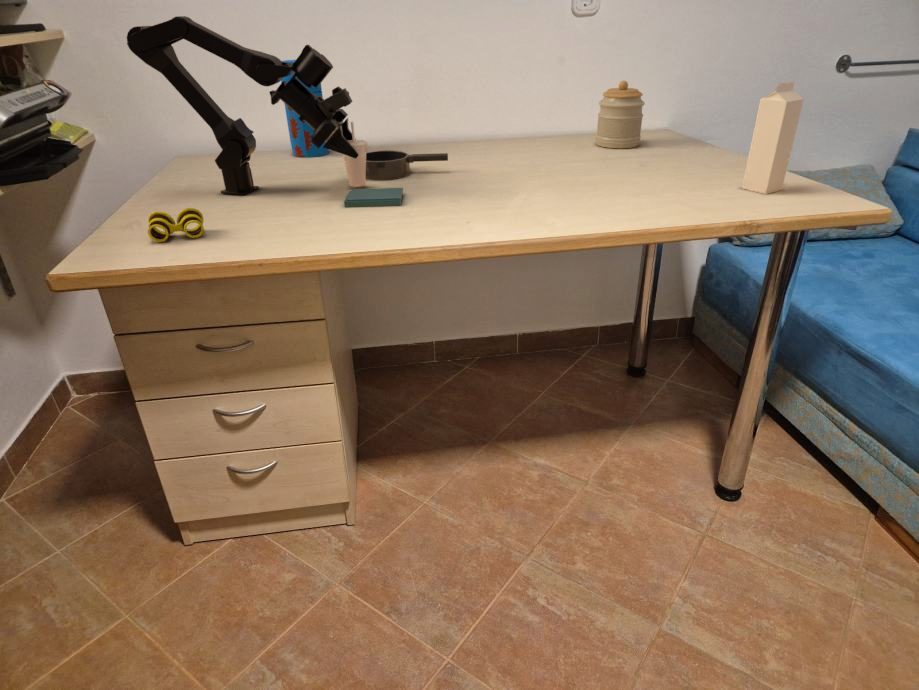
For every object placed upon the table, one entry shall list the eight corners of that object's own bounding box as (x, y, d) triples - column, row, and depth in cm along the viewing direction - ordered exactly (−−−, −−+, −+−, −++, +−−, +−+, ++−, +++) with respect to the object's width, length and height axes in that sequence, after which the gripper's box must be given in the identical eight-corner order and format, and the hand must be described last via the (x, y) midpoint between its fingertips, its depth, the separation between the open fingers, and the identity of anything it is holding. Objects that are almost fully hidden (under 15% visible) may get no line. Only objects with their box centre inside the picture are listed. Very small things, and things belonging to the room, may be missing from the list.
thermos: (314, 148, 185) (301, 58, 173) (336, 152, 179) (325, 59, 167) (285, 154, 178) (270, 61, 166) (307, 158, 172) (293, 63, 160)
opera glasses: (151, 247, 112) (143, 223, 108) (152, 233, 115) (145, 210, 112) (206, 240, 114) (200, 217, 111) (206, 227, 118) (200, 204, 115)
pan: (355, 180, 149) (353, 162, 146) (361, 168, 160) (360, 151, 158) (408, 179, 149) (407, 160, 147) (411, 167, 160) (410, 149, 158)
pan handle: (407, 162, 152) (406, 155, 151) (407, 161, 154) (407, 153, 153) (447, 161, 152) (447, 154, 151) (447, 160, 154) (447, 152, 153)
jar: (613, 138, 188) (619, 77, 179) (648, 144, 179) (656, 80, 170) (586, 144, 181) (591, 81, 172) (621, 151, 172) (628, 84, 163)
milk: (781, 190, 133) (809, 82, 122) (765, 194, 131) (791, 85, 120) (757, 184, 138) (781, 80, 127) (740, 188, 135) (763, 82, 124)
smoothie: (373, 181, 145) (368, 120, 138) (367, 188, 139) (361, 124, 132) (347, 181, 145) (341, 120, 138) (340, 188, 140) (333, 124, 133)
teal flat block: (344, 207, 129) (343, 200, 128) (350, 195, 137) (349, 189, 136) (400, 205, 129) (400, 198, 128) (403, 194, 137) (402, 187, 136)
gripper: (319, 79, 122) (377, 135, 128) (334, 71, 139) (385, 120, 144) (286, 121, 126) (345, 173, 132) (304, 108, 142) (355, 155, 148)
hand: (359, 153), depth 139 cm, fingers closed on smoothie, 6 cm apart
